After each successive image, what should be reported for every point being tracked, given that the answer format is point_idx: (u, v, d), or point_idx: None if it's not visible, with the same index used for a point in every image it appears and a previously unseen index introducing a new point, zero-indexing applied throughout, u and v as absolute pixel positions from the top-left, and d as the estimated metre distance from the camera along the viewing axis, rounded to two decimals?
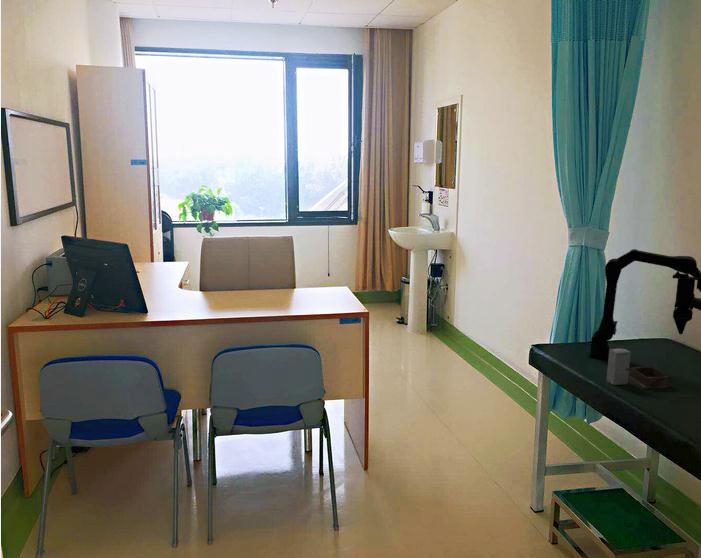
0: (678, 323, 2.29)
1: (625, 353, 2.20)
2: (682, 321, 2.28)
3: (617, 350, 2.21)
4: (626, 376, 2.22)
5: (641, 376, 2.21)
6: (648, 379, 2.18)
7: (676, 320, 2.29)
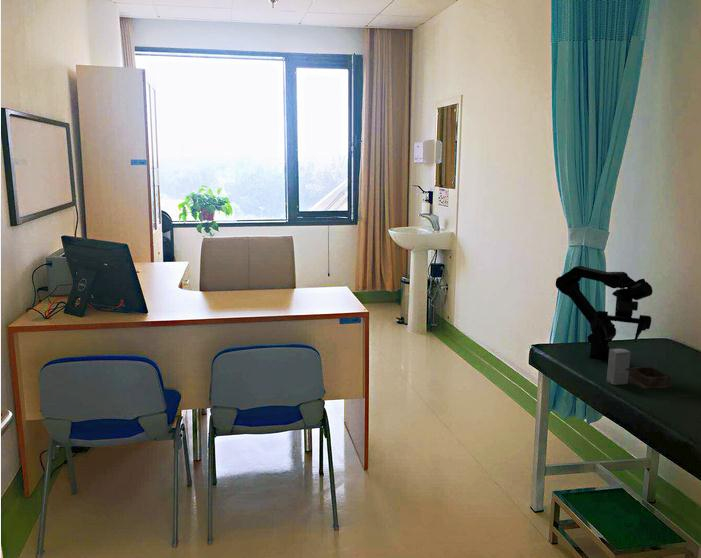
0: (604, 329, 2.34)
1: (625, 353, 2.20)
2: None
3: (617, 350, 2.21)
4: (626, 376, 2.22)
5: (641, 376, 2.21)
6: (648, 379, 2.18)
7: (603, 327, 2.35)
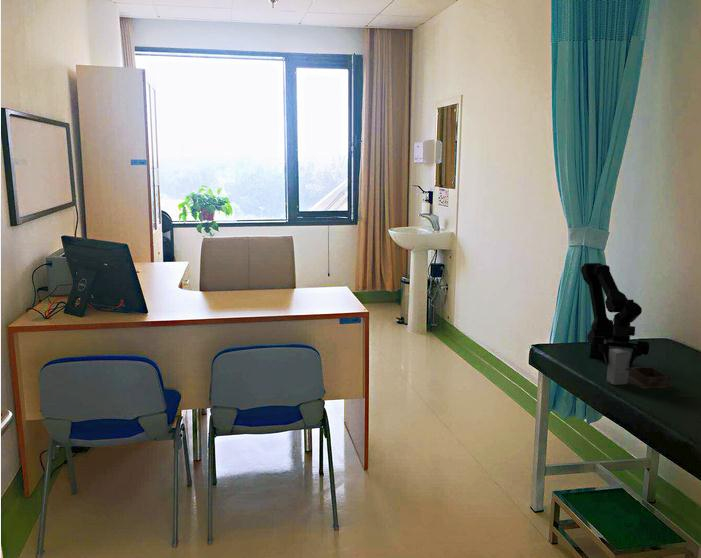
0: (604, 354, 2.26)
1: (625, 353, 2.20)
2: None
3: (617, 350, 2.21)
4: (626, 376, 2.22)
5: (641, 376, 2.21)
6: (648, 379, 2.18)
7: (602, 352, 2.28)
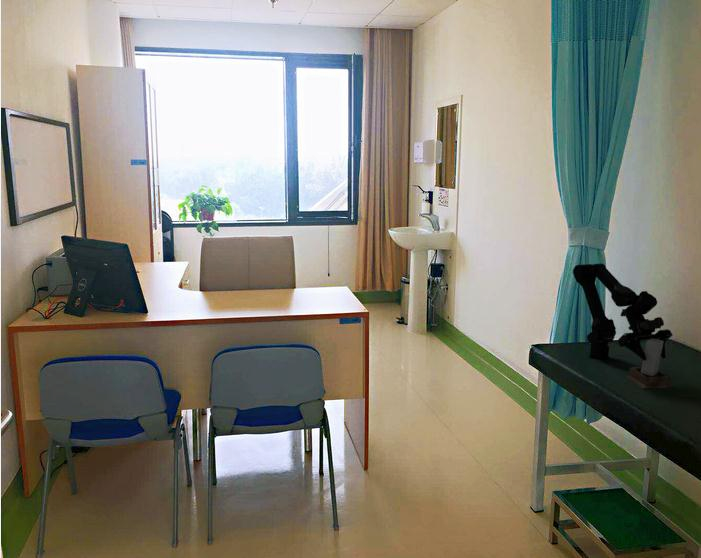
0: (635, 350, 2.23)
1: (661, 343, 2.20)
2: (636, 347, 2.22)
3: (655, 341, 2.19)
4: (658, 365, 2.23)
5: (641, 376, 2.21)
6: (648, 379, 2.18)
7: (631, 349, 2.24)
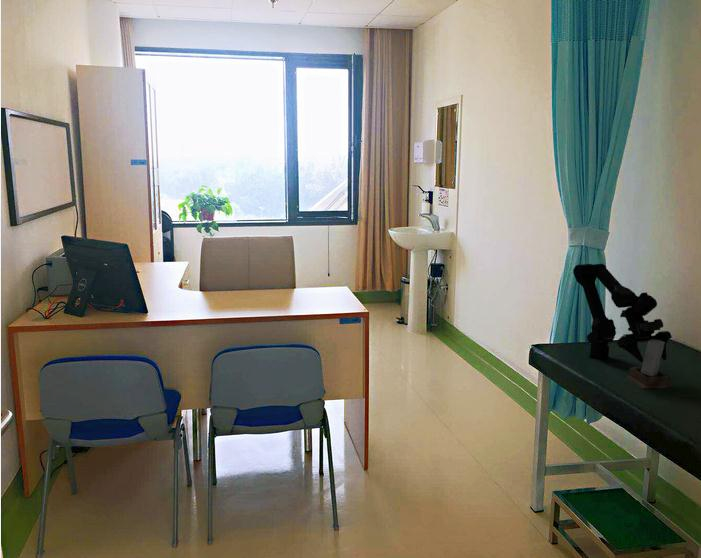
0: (632, 352, 2.23)
1: (662, 344, 2.21)
2: (633, 348, 2.22)
3: (656, 342, 2.20)
4: (658, 366, 2.23)
5: (641, 376, 2.21)
6: (648, 379, 2.18)
7: (628, 350, 2.24)
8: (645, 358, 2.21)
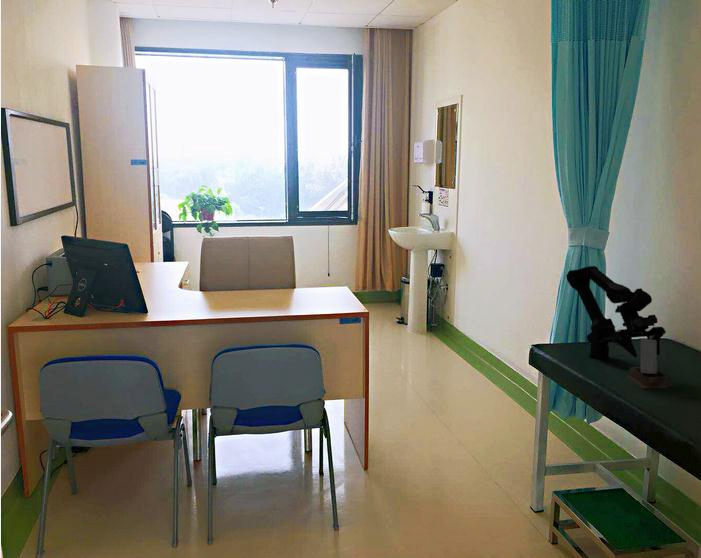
0: (626, 347, 2.26)
1: (655, 341, 2.24)
2: (627, 343, 2.25)
3: (648, 339, 2.24)
4: (656, 365, 2.24)
5: (641, 376, 2.21)
6: (648, 379, 2.18)
7: (623, 345, 2.27)
8: (642, 357, 2.23)
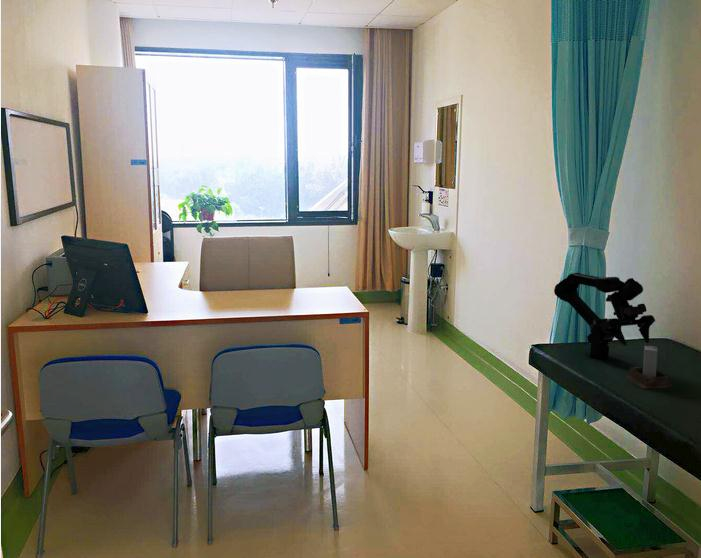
0: (616, 336, 2.32)
1: None
2: (617, 332, 2.31)
3: (652, 349, 2.20)
4: None
5: (641, 376, 2.21)
6: (648, 379, 2.18)
7: (613, 334, 2.33)
8: (645, 367, 2.21)
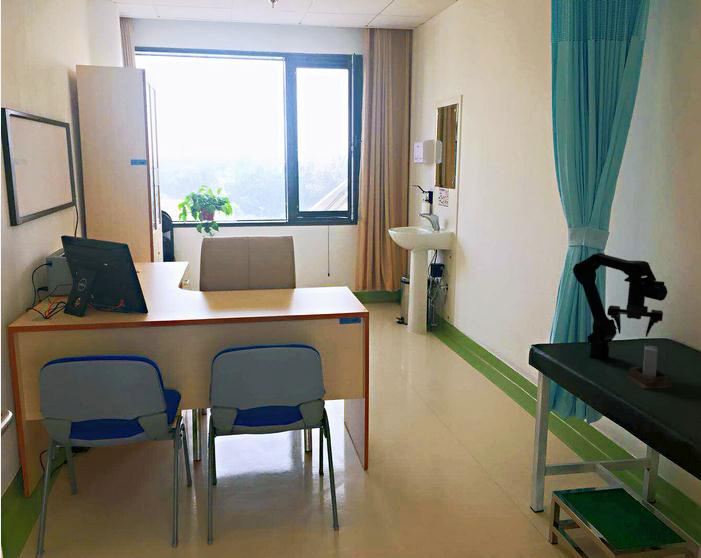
0: None
1: None
2: None
3: (652, 349, 2.20)
4: None
5: (641, 376, 2.21)
6: (648, 379, 2.18)
7: None
8: (645, 367, 2.21)
